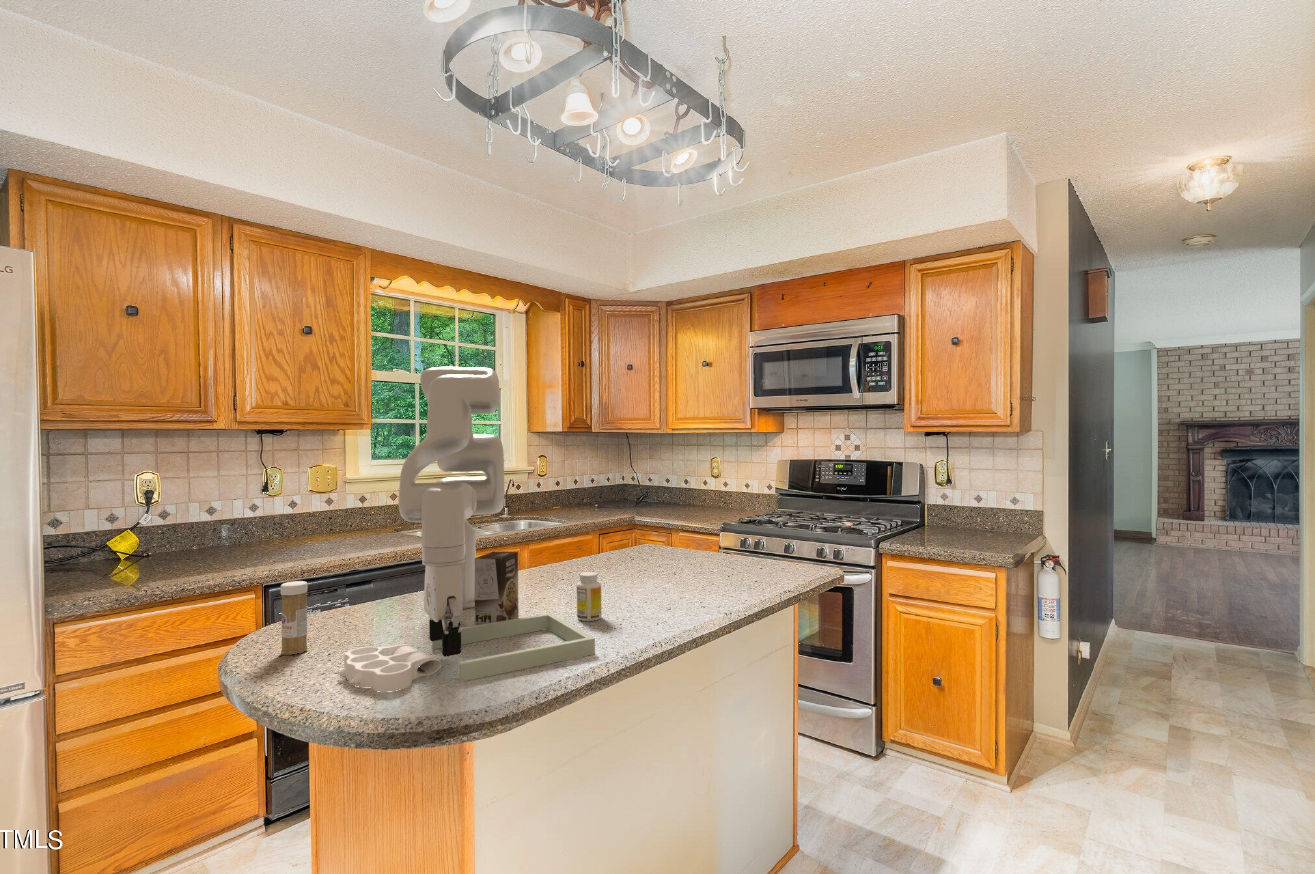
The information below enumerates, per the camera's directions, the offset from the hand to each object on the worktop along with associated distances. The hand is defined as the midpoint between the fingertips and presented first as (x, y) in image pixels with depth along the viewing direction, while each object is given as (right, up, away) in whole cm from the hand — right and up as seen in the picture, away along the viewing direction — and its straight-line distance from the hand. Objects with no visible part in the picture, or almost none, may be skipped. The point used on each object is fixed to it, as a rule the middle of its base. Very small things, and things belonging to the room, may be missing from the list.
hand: (444, 647), depth 119 cm
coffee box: (+4, -3, +21) cm, 22 cm away
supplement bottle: (+24, -3, +28) cm, 37 cm away
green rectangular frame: (+11, -3, +6) cm, 13 cm away
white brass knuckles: (-9, -4, -6) cm, 11 cm away
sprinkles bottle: (-32, -3, +7) cm, 32 cm away
